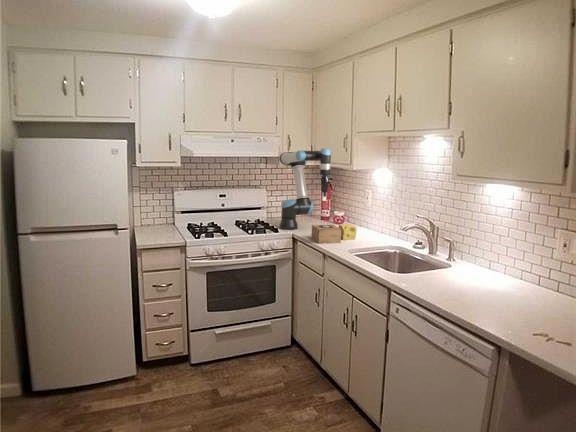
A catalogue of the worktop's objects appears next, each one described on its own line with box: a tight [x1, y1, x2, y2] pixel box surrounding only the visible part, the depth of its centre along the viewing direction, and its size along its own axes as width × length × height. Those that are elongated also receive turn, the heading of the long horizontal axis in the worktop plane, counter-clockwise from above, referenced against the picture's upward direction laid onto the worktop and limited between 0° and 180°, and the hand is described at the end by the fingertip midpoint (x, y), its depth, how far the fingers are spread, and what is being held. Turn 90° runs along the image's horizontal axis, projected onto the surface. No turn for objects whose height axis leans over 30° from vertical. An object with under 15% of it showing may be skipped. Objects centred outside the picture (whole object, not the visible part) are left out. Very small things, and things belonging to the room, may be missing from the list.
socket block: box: [311, 224, 342, 245], centre depth 304 cm, size 18×16×10 cm
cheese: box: [337, 223, 358, 241], centre depth 313 cm, size 10×11×10 cm
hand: (324, 200), depth 319 cm, fingers closed
